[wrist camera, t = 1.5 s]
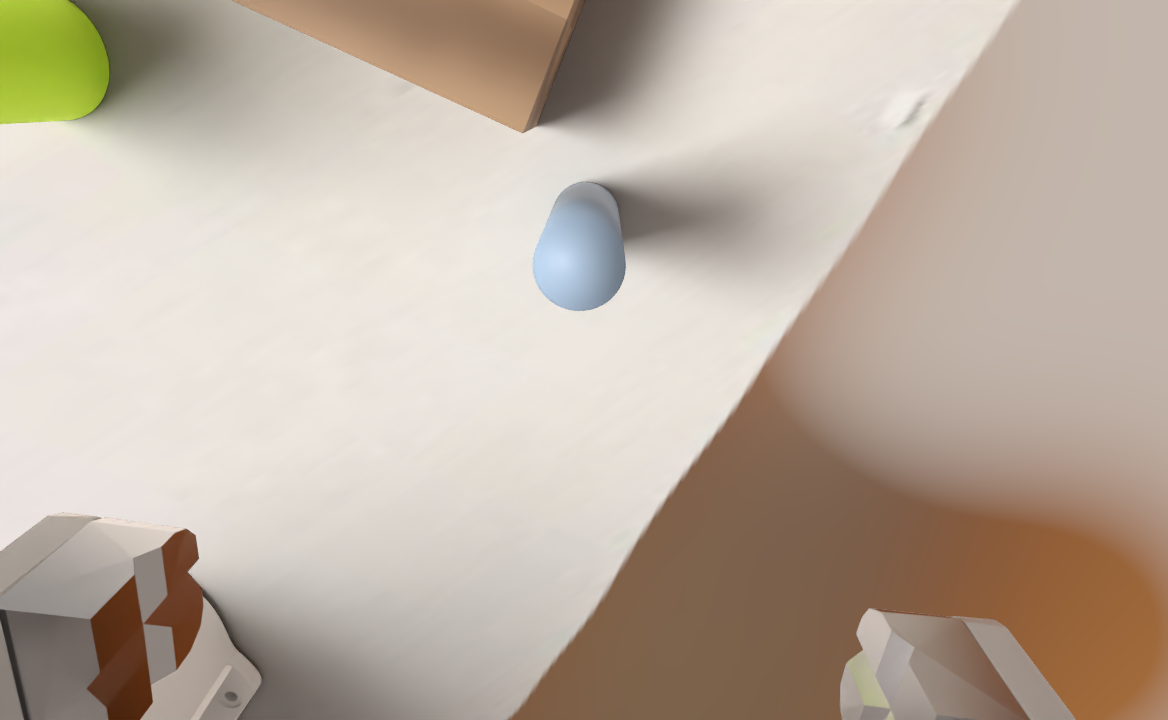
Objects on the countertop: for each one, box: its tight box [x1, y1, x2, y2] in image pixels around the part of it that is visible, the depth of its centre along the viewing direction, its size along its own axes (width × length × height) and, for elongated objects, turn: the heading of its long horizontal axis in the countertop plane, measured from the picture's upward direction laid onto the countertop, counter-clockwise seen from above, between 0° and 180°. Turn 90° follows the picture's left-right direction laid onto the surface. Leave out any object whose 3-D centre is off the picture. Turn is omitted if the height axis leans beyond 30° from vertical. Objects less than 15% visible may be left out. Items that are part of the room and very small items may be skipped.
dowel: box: [533, 182, 626, 311], centre depth 30 cm, size 3×3×11 cm
